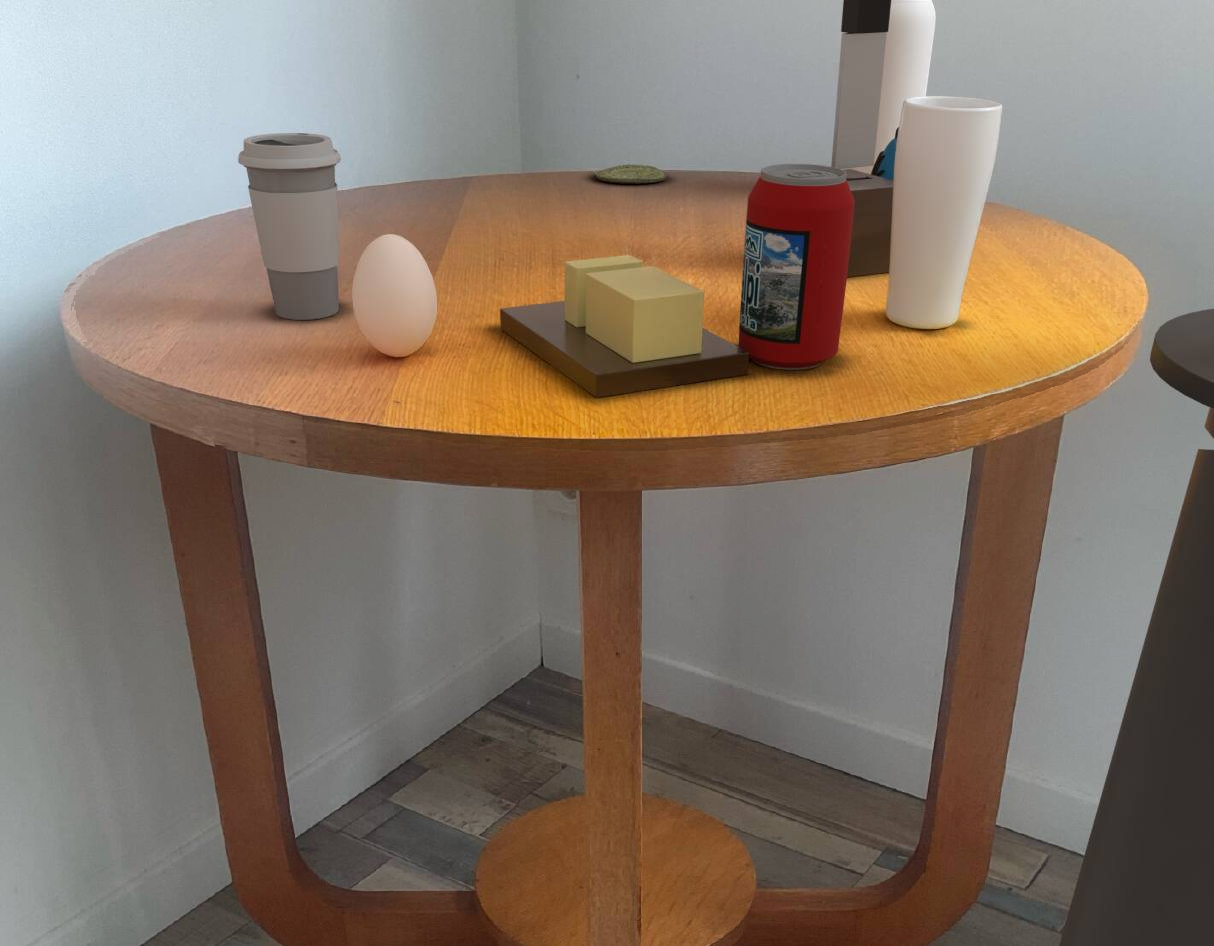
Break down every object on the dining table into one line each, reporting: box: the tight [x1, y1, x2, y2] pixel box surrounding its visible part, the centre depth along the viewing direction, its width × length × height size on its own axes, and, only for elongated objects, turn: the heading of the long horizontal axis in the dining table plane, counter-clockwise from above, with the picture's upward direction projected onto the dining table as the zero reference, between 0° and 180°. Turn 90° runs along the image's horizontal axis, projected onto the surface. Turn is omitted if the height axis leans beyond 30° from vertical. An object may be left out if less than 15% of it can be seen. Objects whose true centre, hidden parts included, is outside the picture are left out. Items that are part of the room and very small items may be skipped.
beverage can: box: [737, 163, 855, 371], centre depth 79 cm, size 7×7×12 cm
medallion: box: [594, 164, 667, 185], centre depth 137 cm, size 8×8×1 cm
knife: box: [830, 0, 891, 169], centre depth 96 cm, size 2×4×16 cm, turn 116°
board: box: [499, 300, 750, 398], centre depth 82 cm, size 16×11×2 cm
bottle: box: [841, 0, 937, 174], centre depth 123 cm, size 8×8×30 cm
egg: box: [351, 233, 438, 358], centre depth 79 cm, size 6×6×8 cm
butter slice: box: [564, 254, 644, 327], centre depth 83 cm, size 2×5×4 cm, turn 116°
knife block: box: [844, 169, 893, 278], centre depth 102 cm, size 8×7×7 cm
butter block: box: [586, 265, 705, 363], centre depth 78 cm, size 7×5×4 cm
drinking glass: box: [885, 95, 1003, 330], centre depth 86 cm, size 7×7×15 cm
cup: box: [237, 132, 342, 321], centre depth 87 cm, size 7×7×12 cm
